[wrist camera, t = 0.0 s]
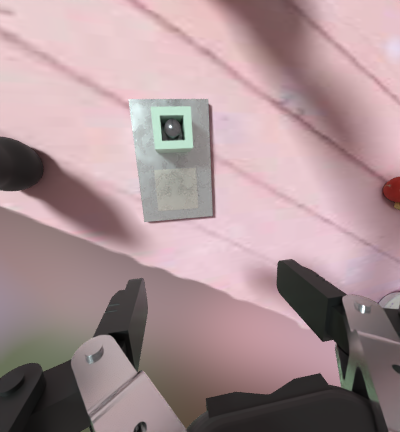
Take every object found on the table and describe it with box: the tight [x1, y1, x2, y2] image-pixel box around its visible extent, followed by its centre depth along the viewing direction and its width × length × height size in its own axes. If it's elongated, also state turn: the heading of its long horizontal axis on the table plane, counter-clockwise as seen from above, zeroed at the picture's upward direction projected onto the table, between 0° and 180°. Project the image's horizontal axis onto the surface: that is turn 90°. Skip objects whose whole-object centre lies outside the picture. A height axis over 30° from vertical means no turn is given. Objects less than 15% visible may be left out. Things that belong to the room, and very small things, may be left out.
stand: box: [129, 99, 213, 222], centre depth 33 cm, size 22×14×8 cm, turn 3°
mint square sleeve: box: [151, 106, 193, 153], centre depth 31 cm, size 6×6×6 cm
